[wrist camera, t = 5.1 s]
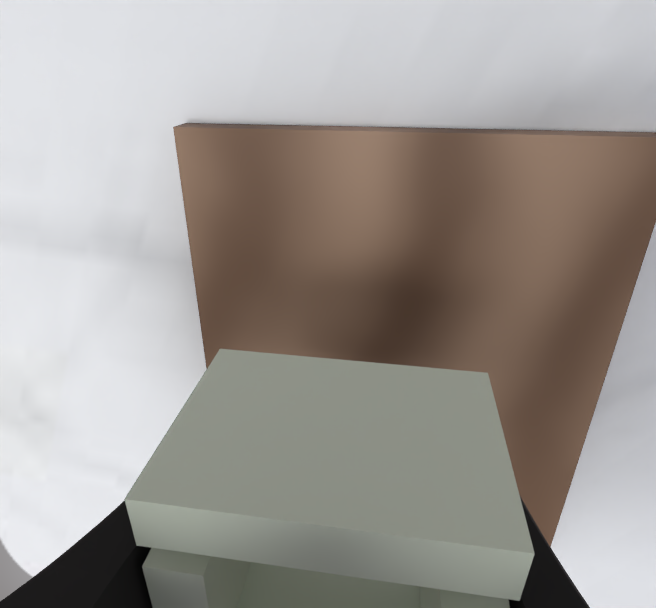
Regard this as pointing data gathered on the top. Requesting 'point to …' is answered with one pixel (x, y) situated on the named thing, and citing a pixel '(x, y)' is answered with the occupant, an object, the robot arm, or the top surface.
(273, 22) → the top surface
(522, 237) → the post board
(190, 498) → the collar
